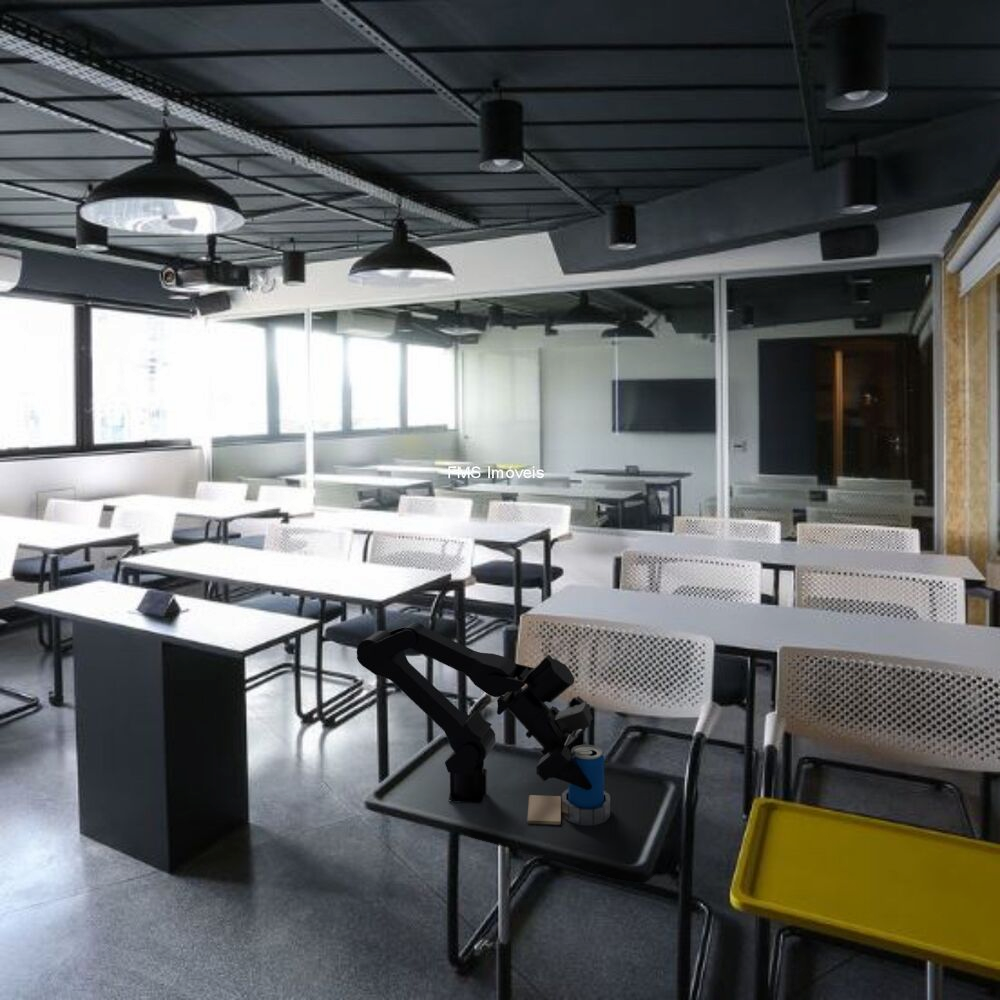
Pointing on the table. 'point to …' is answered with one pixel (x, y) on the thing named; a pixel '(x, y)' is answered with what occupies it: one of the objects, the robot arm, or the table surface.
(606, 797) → the ring
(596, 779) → the beverage can
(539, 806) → the cork pad
